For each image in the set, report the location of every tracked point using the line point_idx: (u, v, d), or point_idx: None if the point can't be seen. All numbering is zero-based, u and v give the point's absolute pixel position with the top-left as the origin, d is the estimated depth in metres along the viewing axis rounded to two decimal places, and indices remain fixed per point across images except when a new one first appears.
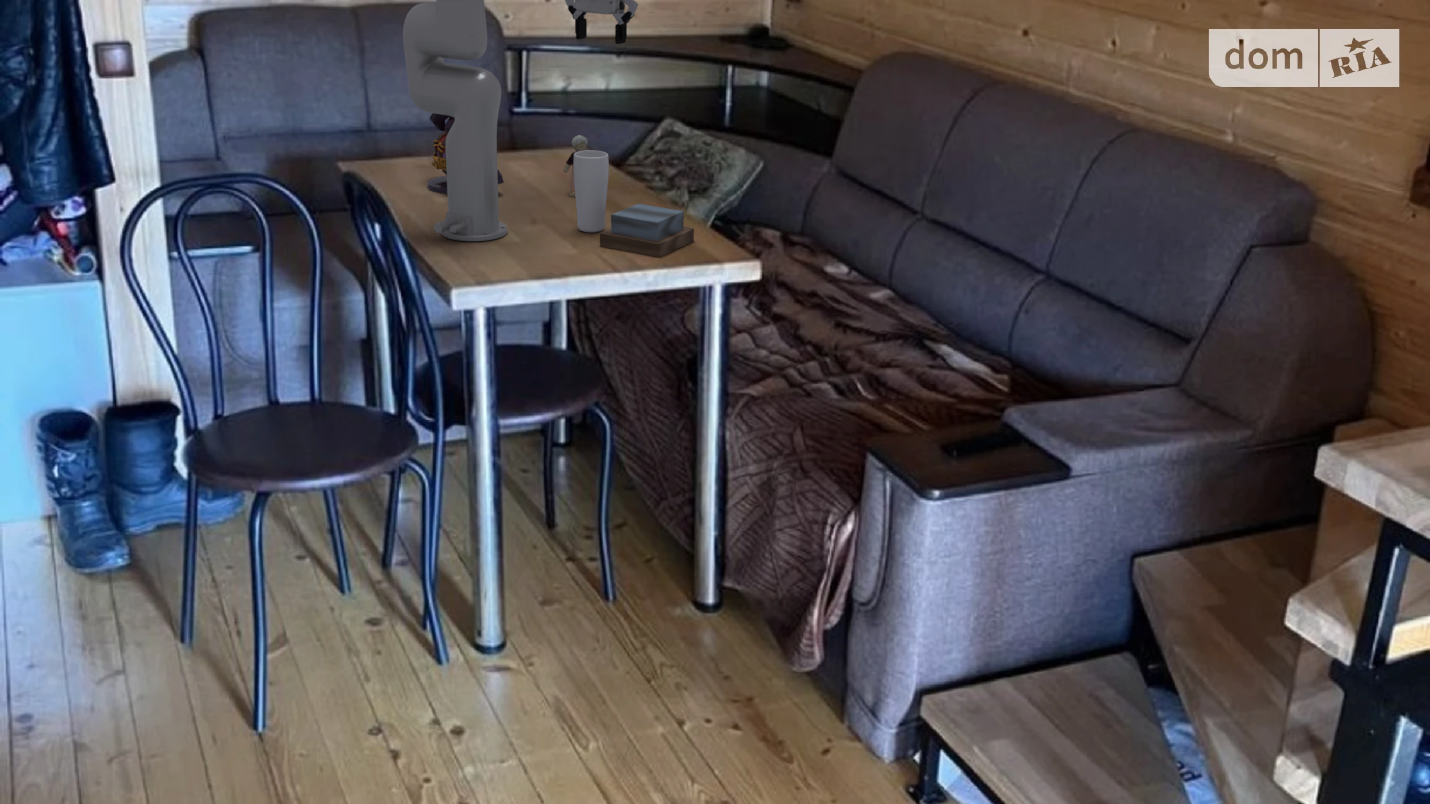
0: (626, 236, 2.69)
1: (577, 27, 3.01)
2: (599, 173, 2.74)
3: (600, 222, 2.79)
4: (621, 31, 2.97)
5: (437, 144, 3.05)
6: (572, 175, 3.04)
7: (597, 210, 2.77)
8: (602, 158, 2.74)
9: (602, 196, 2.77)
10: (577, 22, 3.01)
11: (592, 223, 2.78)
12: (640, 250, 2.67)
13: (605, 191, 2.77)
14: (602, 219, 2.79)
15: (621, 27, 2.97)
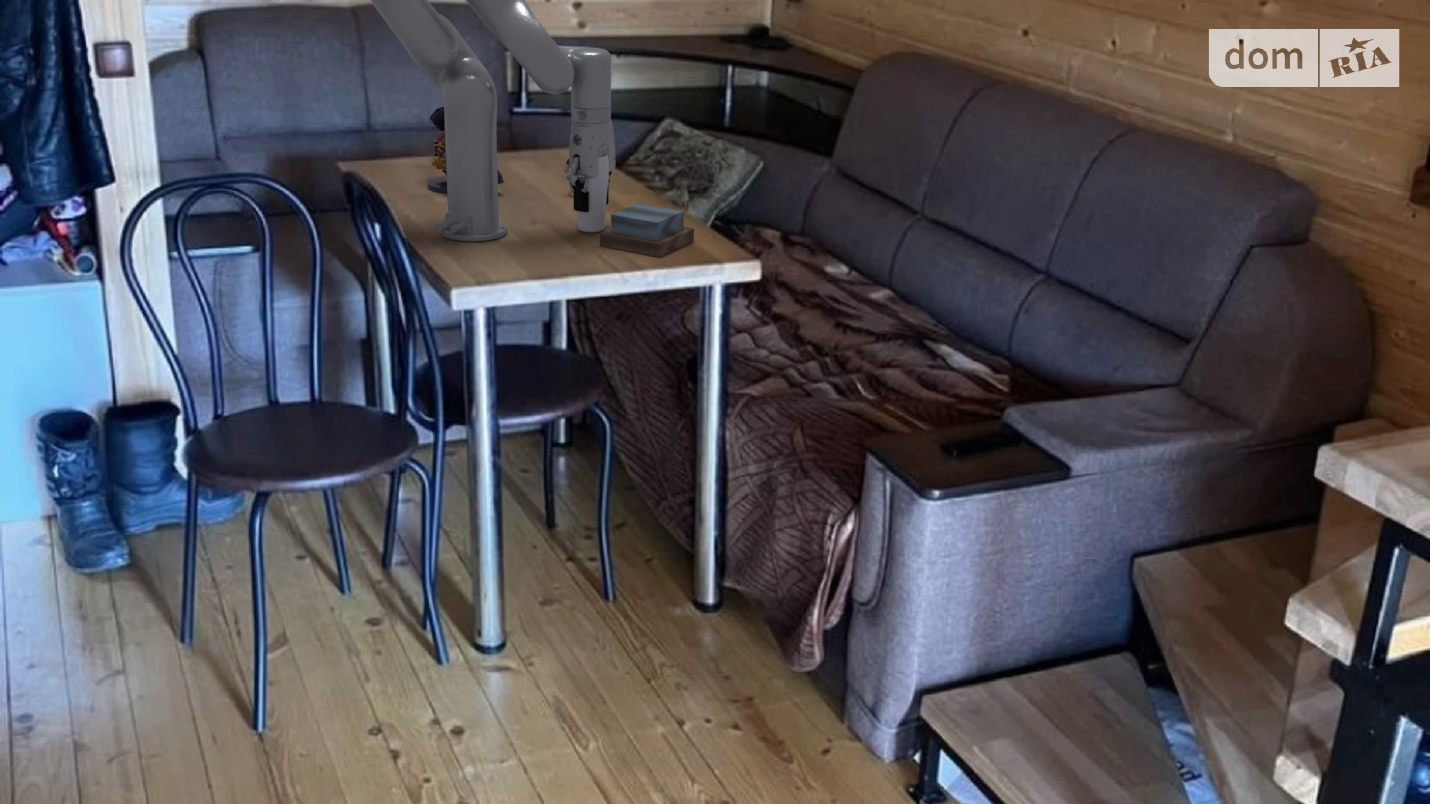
0: (626, 236, 2.69)
1: (588, 199, 2.75)
2: (599, 172, 2.74)
3: (600, 222, 2.79)
4: None
5: (437, 144, 3.05)
6: None
7: (597, 210, 2.77)
8: (602, 158, 2.74)
9: (602, 196, 2.77)
10: (588, 194, 2.75)
11: (592, 223, 2.78)
12: (640, 250, 2.67)
13: (605, 191, 2.77)
14: (602, 219, 2.79)
15: None
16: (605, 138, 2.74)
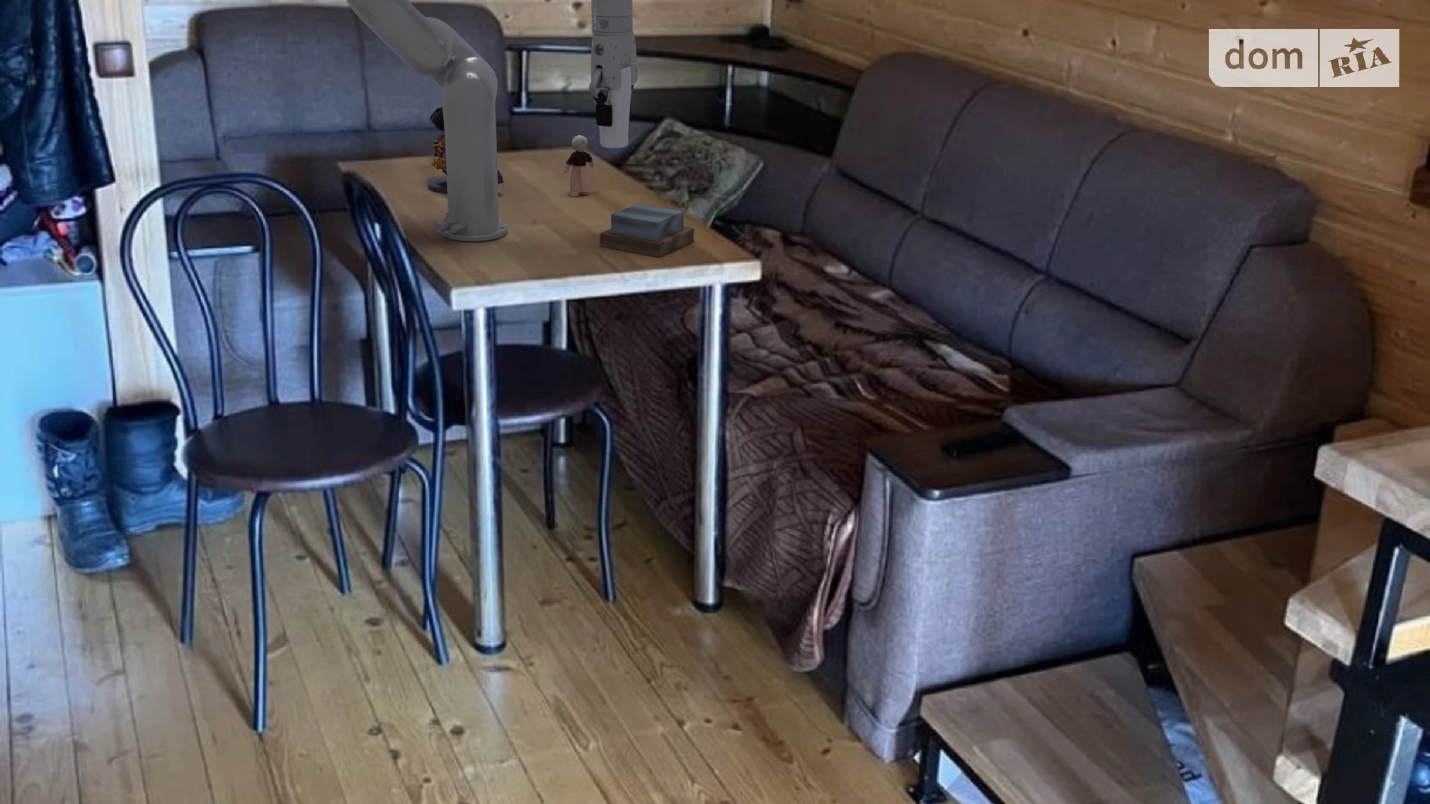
0: (626, 236, 2.69)
1: (611, 113, 2.66)
2: (622, 84, 2.65)
3: (623, 138, 2.70)
4: None
5: (437, 144, 3.05)
6: (572, 175, 3.04)
7: (620, 124, 2.68)
8: (625, 69, 2.64)
9: (625, 110, 2.68)
10: (611, 107, 2.66)
11: (616, 138, 2.69)
12: (640, 250, 2.67)
13: (628, 104, 2.68)
14: (626, 134, 2.70)
15: None
16: (627, 48, 2.65)
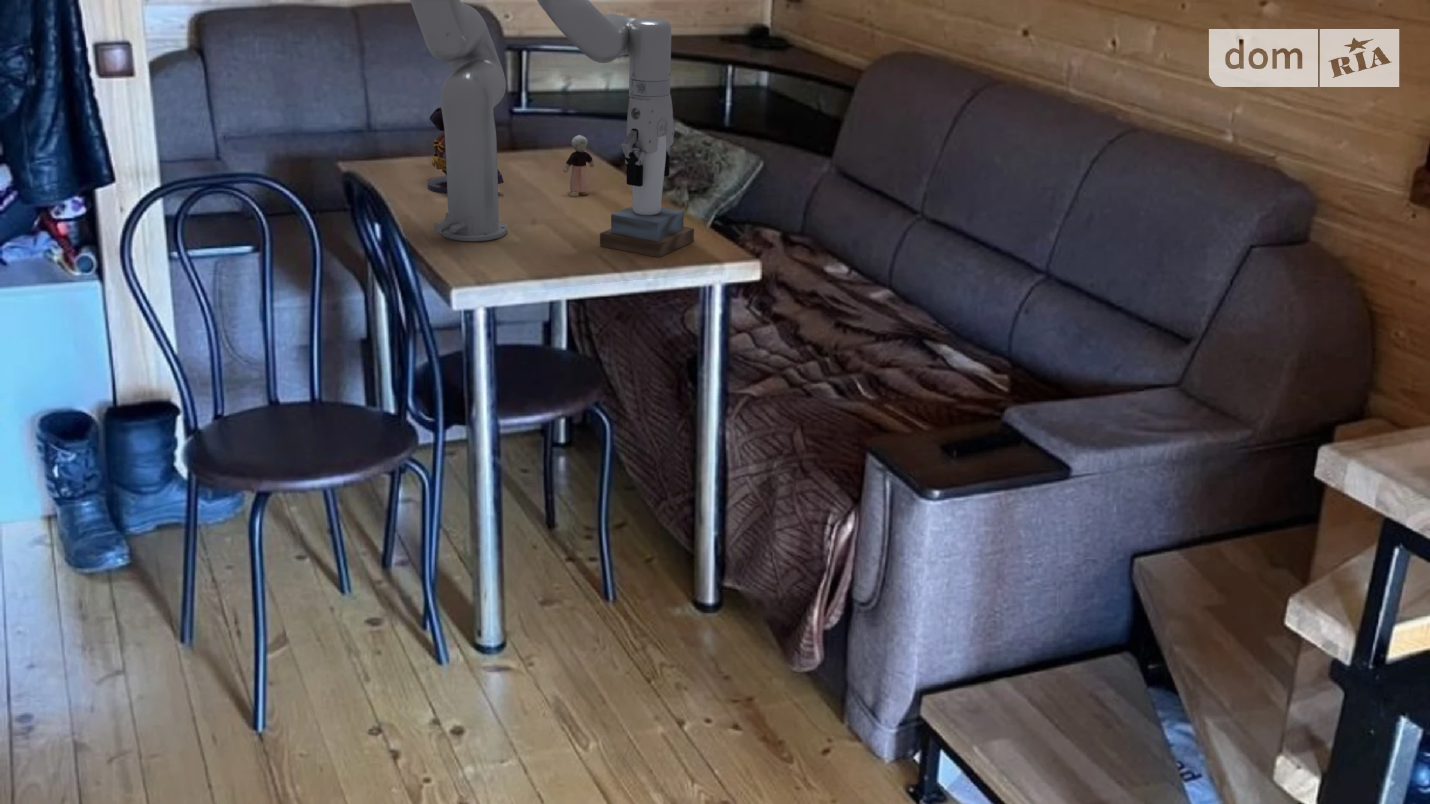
0: (626, 236, 2.69)
1: (642, 173, 2.64)
2: (657, 153, 2.64)
3: (656, 205, 2.69)
4: None
5: (437, 144, 3.05)
6: (572, 175, 3.04)
7: (654, 192, 2.68)
8: (660, 138, 2.64)
9: (659, 178, 2.67)
10: (642, 167, 2.63)
11: (648, 206, 2.68)
12: (640, 250, 2.67)
13: (662, 172, 2.67)
14: (659, 202, 2.69)
15: None
16: (664, 112, 2.63)
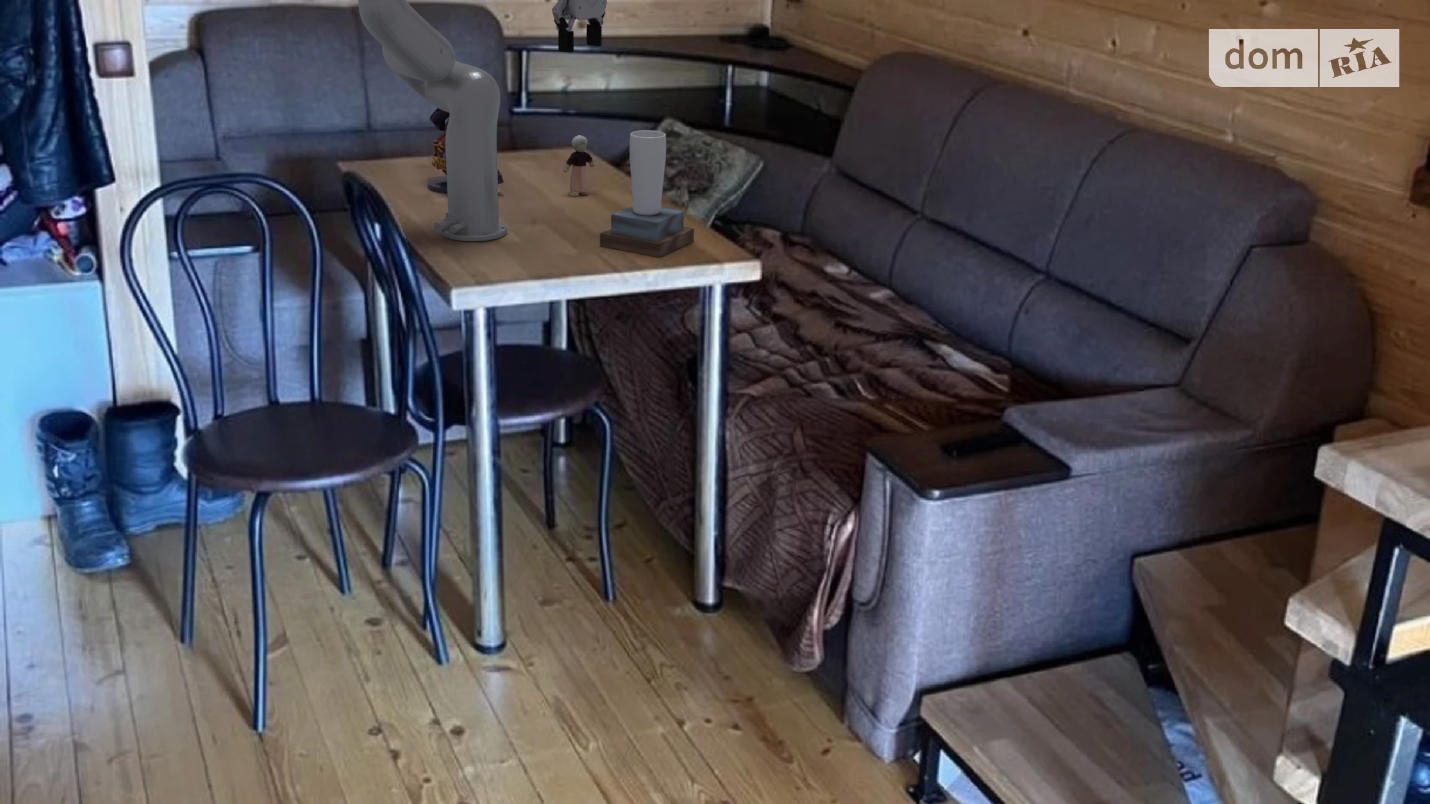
0: (626, 236, 2.69)
1: (573, 39, 2.72)
2: (657, 153, 2.64)
3: (656, 205, 2.69)
4: None
5: (437, 144, 3.05)
6: (572, 175, 3.04)
7: (654, 192, 2.68)
8: (660, 138, 2.64)
9: (659, 178, 2.67)
10: (573, 33, 2.71)
11: (648, 206, 2.68)
12: (640, 250, 2.67)
13: (662, 172, 2.67)
14: (659, 202, 2.69)
15: None
16: None
